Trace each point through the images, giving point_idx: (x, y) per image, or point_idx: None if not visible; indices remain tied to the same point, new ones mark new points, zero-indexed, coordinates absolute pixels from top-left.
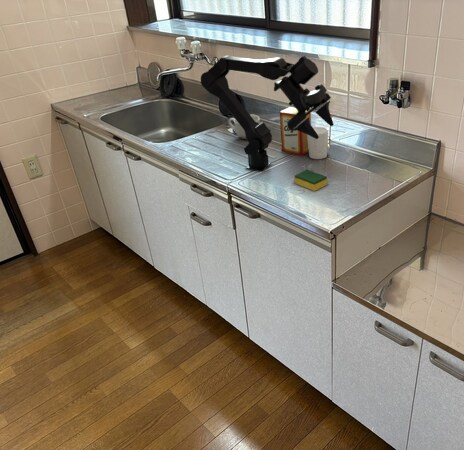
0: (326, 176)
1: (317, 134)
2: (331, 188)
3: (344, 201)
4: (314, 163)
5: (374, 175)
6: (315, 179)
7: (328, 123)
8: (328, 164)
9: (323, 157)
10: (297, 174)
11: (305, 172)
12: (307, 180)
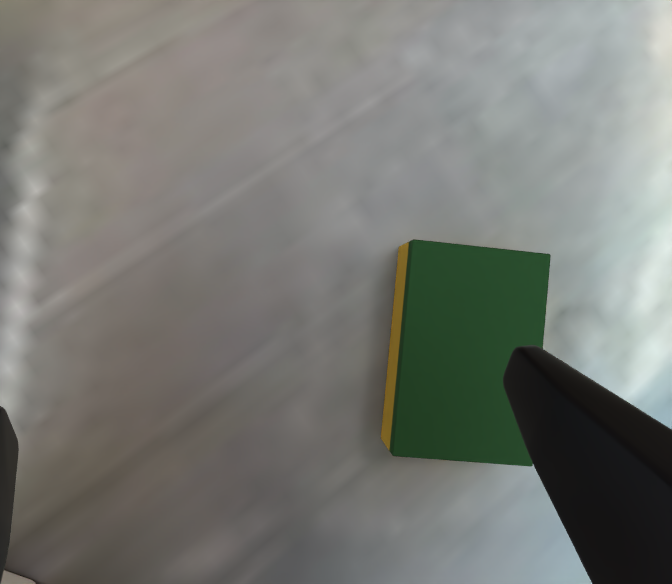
0: (413, 242)
1: (549, 375)
2: (425, 188)
3: (528, 13)
4: (136, 565)
5: (72, 46)
6: (503, 280)
7: (3, 528)
8: (90, 458)
9: (6, 573)
10: (510, 455)
11: (445, 428)
12: (543, 324)
